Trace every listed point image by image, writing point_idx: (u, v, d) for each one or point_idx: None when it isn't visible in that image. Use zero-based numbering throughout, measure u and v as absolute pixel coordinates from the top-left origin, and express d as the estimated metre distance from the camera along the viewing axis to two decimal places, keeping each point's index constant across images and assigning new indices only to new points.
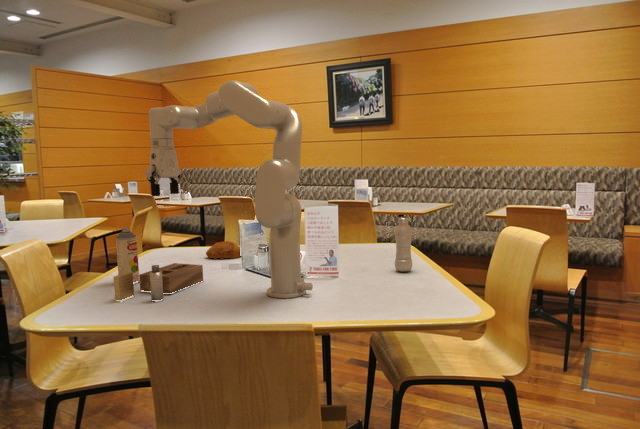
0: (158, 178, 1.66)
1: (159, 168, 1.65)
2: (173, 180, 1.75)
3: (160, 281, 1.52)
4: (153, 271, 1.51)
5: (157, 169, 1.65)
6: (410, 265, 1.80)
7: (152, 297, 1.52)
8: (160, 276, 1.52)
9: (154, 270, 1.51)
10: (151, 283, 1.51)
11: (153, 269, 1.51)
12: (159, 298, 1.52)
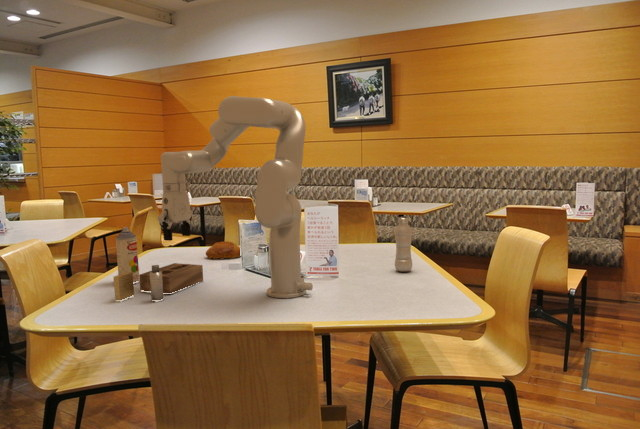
0: (170, 223, 1.66)
1: (171, 213, 1.65)
2: (185, 222, 1.75)
3: (160, 281, 1.52)
4: (153, 271, 1.51)
5: (169, 214, 1.65)
6: (410, 265, 1.80)
7: (152, 297, 1.52)
8: (160, 276, 1.52)
9: (154, 270, 1.51)
10: (151, 283, 1.51)
11: (153, 269, 1.51)
12: (159, 298, 1.52)
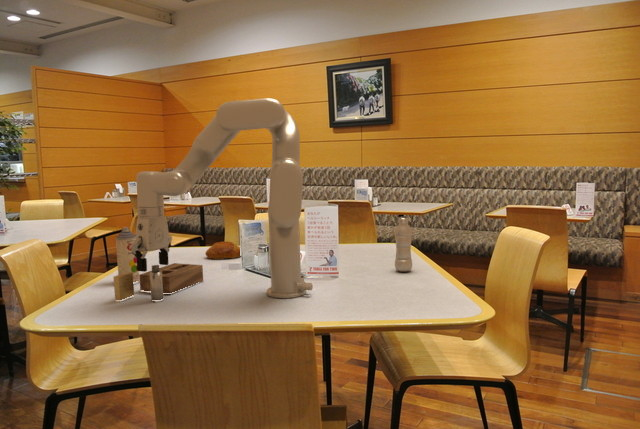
0: (145, 252, 1.47)
1: (146, 241, 1.46)
2: (162, 250, 1.56)
3: (160, 281, 1.52)
4: (153, 271, 1.51)
5: (144, 242, 1.46)
6: (410, 265, 1.80)
7: (152, 297, 1.52)
8: (160, 276, 1.52)
9: (154, 270, 1.51)
10: (151, 283, 1.51)
11: (153, 269, 1.51)
12: (159, 298, 1.52)
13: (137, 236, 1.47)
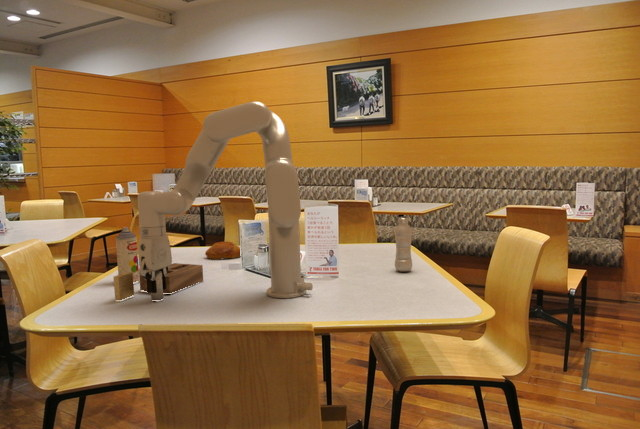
0: (153, 273, 1.49)
1: (149, 261, 1.47)
2: None
3: (160, 281, 1.52)
4: None
5: (147, 262, 1.47)
6: (410, 265, 1.80)
7: (152, 297, 1.52)
8: (160, 276, 1.52)
9: None
10: None
11: None
12: (159, 298, 1.52)
13: (140, 256, 1.48)
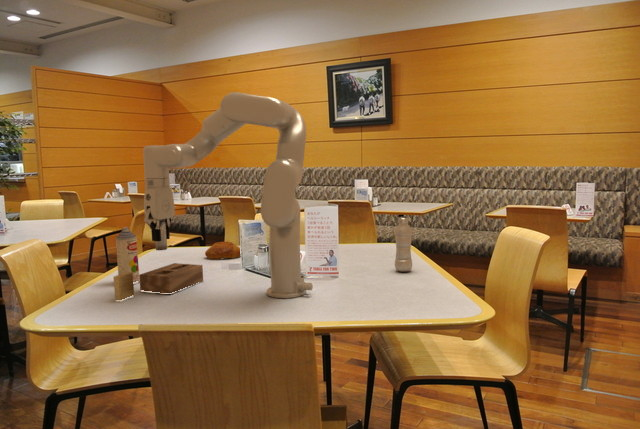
0: (157, 222, 1.59)
1: (154, 210, 1.56)
2: None
3: (164, 230, 1.61)
4: None
5: (152, 211, 1.56)
6: (410, 265, 1.80)
7: (156, 245, 1.61)
8: (164, 226, 1.61)
9: None
10: None
11: None
12: (163, 246, 1.61)
13: (145, 206, 1.57)
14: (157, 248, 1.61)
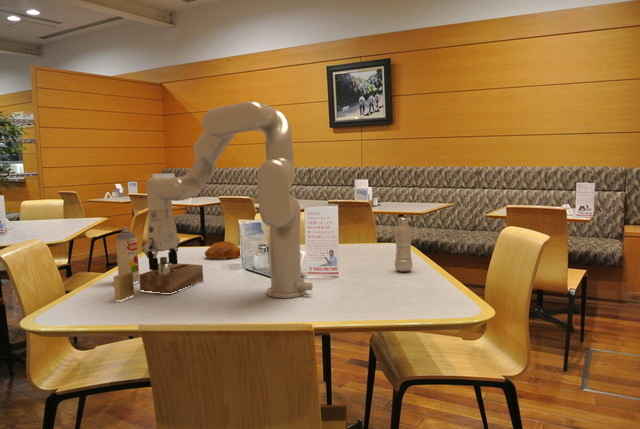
0: (156, 252, 1.59)
1: (157, 242, 1.58)
2: (172, 250, 1.69)
3: (168, 272, 1.64)
4: (161, 262, 1.64)
5: (155, 243, 1.59)
6: (410, 265, 1.80)
7: None
8: (168, 267, 1.64)
9: (162, 261, 1.64)
10: None
11: (161, 261, 1.64)
12: None
13: (148, 238, 1.60)
14: None
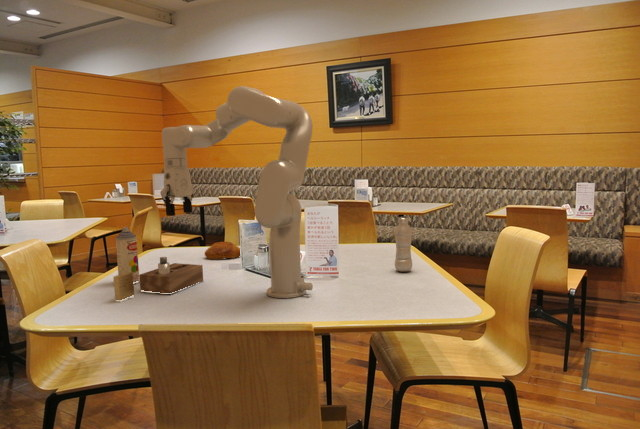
0: (173, 198, 1.65)
1: (174, 188, 1.64)
2: (186, 199, 1.75)
3: (168, 272, 1.64)
4: (161, 262, 1.64)
5: (172, 189, 1.64)
6: (410, 265, 1.80)
7: None
8: (168, 267, 1.64)
9: (162, 261, 1.64)
10: None
11: (161, 261, 1.64)
12: None
13: (165, 184, 1.65)
14: None
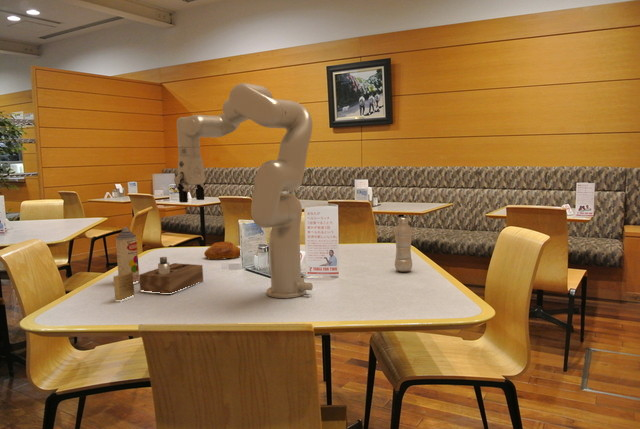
0: (186, 185, 1.71)
1: (187, 175, 1.70)
2: (199, 187, 1.81)
3: (168, 272, 1.64)
4: (161, 262, 1.64)
5: (185, 176, 1.71)
6: (410, 265, 1.80)
7: None
8: (168, 267, 1.64)
9: (162, 261, 1.64)
10: None
11: (161, 261, 1.64)
12: None
13: (179, 172, 1.72)
14: None
